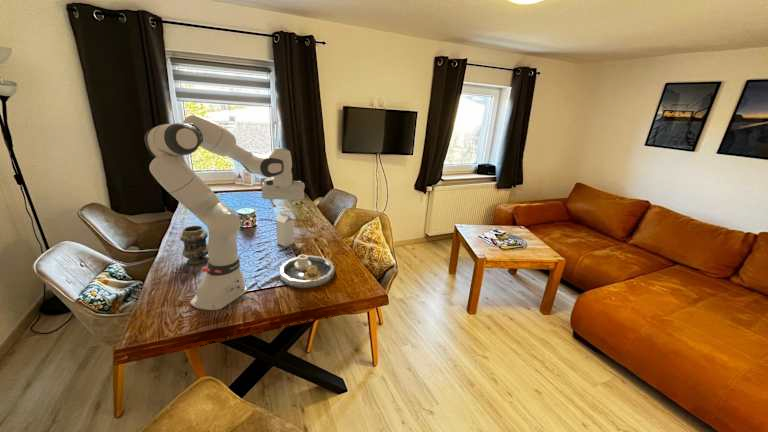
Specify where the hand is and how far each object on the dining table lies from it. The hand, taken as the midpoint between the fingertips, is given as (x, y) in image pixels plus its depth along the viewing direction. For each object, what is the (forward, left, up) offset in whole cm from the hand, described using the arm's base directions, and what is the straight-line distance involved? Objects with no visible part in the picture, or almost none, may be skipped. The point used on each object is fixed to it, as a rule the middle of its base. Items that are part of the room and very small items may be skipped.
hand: (284, 207), depth 155 cm
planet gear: (-7, -13, -28) cm, 32 cm away
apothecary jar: (-17, +39, -29) cm, 52 cm away
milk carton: (+16, +8, -29) cm, 34 cm away
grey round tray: (-12, -18, -29) cm, 36 cm away
